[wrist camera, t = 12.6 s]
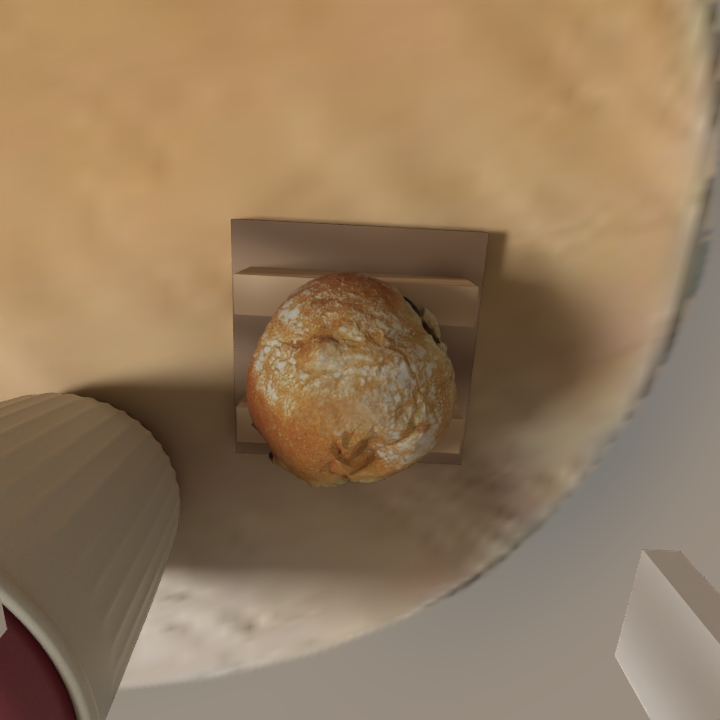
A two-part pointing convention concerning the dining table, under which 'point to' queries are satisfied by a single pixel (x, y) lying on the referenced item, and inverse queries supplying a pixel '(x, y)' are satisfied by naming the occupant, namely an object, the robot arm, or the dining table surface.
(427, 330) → the bread roll
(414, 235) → the display stand
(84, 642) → the canister
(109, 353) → the dining table surface
